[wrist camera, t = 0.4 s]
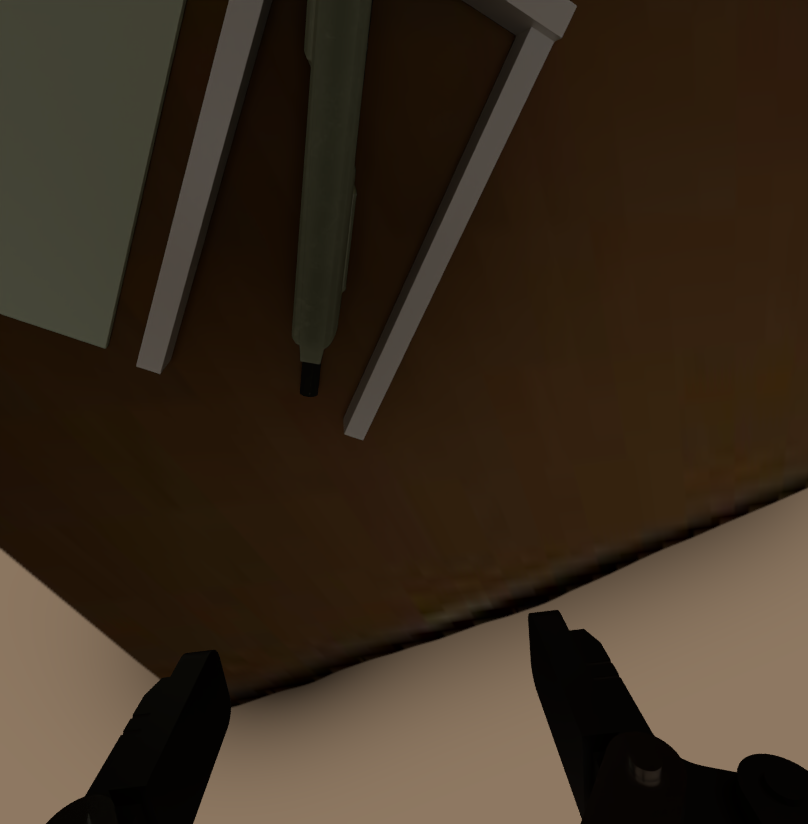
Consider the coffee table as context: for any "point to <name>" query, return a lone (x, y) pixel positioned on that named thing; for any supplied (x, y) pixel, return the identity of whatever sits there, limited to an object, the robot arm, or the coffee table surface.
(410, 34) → the coffee table surface
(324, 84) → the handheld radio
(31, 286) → the green mat
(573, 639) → the robot arm
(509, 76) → the white u-shaped frame
